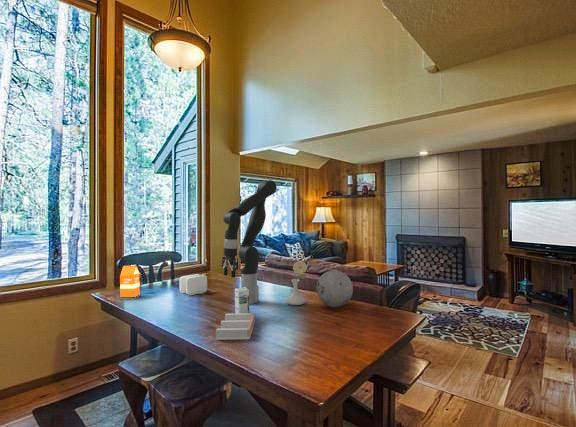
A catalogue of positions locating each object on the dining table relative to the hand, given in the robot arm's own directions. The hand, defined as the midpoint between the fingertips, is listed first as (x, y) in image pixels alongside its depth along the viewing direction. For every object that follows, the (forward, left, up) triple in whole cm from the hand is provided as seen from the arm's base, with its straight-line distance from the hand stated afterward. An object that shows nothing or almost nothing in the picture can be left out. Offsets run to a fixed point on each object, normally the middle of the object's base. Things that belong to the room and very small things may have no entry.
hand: (229, 276), depth 179 cm
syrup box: (+4, +20, -17) cm, 27 cm away
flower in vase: (-31, +22, -17) cm, 42 cm away
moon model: (-43, +40, -17) cm, 61 cm away
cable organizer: (+2, -45, -18) cm, 48 cm away
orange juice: (+36, -65, -17) cm, 76 cm away
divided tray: (+16, +34, -17) cm, 41 cm away
